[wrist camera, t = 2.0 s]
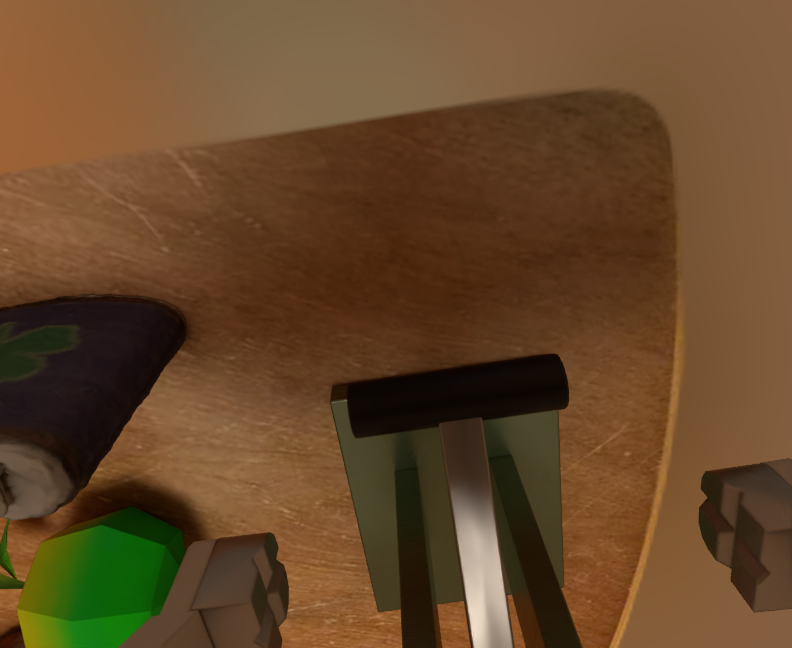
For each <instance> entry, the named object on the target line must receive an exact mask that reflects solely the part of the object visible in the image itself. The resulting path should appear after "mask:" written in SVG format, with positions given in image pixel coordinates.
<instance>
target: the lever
mask: <svg viewBox="0 0 792 648" xmlns="http://www.w3.org/2000/svg"><path fill="white" fill-rule="evenodd" d="M568 402H569V387H568V380H567V375H566V372H565V368H564V365H563V363H562V361H561V359H560V357H559V356H558V355H557V354H548V355H541V356H534V357H527V358H520V359H514V360H507V361H500V362H493V363H486V364H479V365H473V366H466V367H459V368H452V369H445V370H438V371H432V372H425V373H418V374H411V375H404V376H397V377H391V378H384V379H377V380H370V381H363V382H356V383H350V384H348V386H347V408H348V416H349V422H350V427H351V430H352V433H353V436H354V437H355V438H357V439H359V438H366V437H372V436H379V435H386V434H393V433H400V432H407V431H414V430H421V429H428V428H435V427H438V428H439V435H440V441H441V448H442V455H443V462H444V468H445V475H446V482H447V489H448V496H449V502H450V509H451V516H452V523H453V529H454V536H455V543H456V550H457V556H458V563H459V570H460V577H461V584H462V590H463V597H464V604H465V611H466V617H467V624H468V631H469V638H470V644H471V648H515V647H514V640H513V633H512V626H511V619H510V612H509V605H508V598H507V591H506V584H505V577H504V570H503V563H502V556H501V549H500V542H499V535H498V528H497V521H496V514H495V507H494V500H493V493H492V486H491V479H490V472H489V465H488V458H487V451H486V444H485V437H484V430H483V423H482V421H484V420H491V419H498V418H505V417H512V416H519V415H526V414H533V413H540V412H547V411H554V410H561V409H565V408H566V407H567V406H568Z"/></svg>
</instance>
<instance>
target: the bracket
mask: <svg viewBox="0 0 792 648" xmlns="http://www.w3.org/2000/svg"><path fill="white" fill-rule="evenodd" d="M347 386H348V385H342V386H335V387H332V392H331V399H330V404H331V409H332V413H333V418H334V422H335V426H336V431H337V435H338V439H339V444H340V448H341V452H342V457H343V461H344V465H345V470H346V474H347V479H348V483H349V487H350V492H351V496H352V500H353V505H354V509H355V513H356V518H357V522H358V526H359V531H360V535H361V540H362V544H363V548H364V553H365V557H366V561H367V566H368V570H369V574H370V579H371V583H372V587H373V592H374V596H375V601H376V605H377V609H378V612H384V611H392V610H399V609H401V627H402V648H442V642H441V633H440V625H439V616H438V608H437V604H444V603H451V602H459V601H464V597H463V590H462V584H461V577H460V570H459V563H458V556H457V550H456V543H455V536H454V529H453V523H452V516H451V509H450V502H449V496H448V489H447V482H446V475H445V468H444V462H443V455H442V448H441V441H440V435H439V428H438V427H435V428H428V429H421V430H414V431H407V432H400V433H393V434H386V435H379V436H372V437H366V438H359V439H357V438H355V437H354V436H353V433H352V430H351V427H350V422H349V416H348V408H347ZM482 423H483V430H484V437H485V444H486V451H487V458H488V465H489V472H490V479H491V486H492V493H493V500H494V507H495V514H496V521H497V528H498V535H499V542H500V549H501V556H502V563H503V570H504V577H505V584H506V591H507V595H511V594H512V597H513V601H514V605H515V608H516V612H517V616H518V620H519V623H520V627H521V631H522V635H523V638H524V642H525V646H526V648H583V647H582V644H581V642H580V639H579V636H578V634H577V631H576V628H575V625H574V623H573V620H572V617H571V614H570V612H569V609H568V606H567V603H566V601H565V598H564V595H563V593H562V590H561V588H563V587H564V564H563V534H562V504H561V474H560V443H559V413H558V410H554V411H547V412H540V413H533V414H526V415H519V416H512V417H505V418H498V419H491V420H484V421H482Z"/></svg>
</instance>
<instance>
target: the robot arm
mask: <svg viewBox="0 0 792 648" xmlns="http://www.w3.org/2000/svg"><path fill="white" fill-rule="evenodd" d="M701 490H702V491H703V492H704V494H705V495H706V496H707V497H708V498H707V499H706V500H705V501H704V503H703V504H702V505H701V506H700V507H699V526H700V530H701V534H702V538H703V540H704V542H705V544H706V546H707V548H708V550H709V551H710V552H711V554H712V555H713V557H714V558H715V560H717V561H718V562H720V563H722V564H724V565H726V566H727V567H729V568H731V569H732V571H731V582H732V583H733V585H734V586H735V587H736V589H737V590H738V591H739V593H740V594H741V595H742V597H743V598H744V600H745V601H746V602H747V604H748V605H749V606H750V608H751V609H752V610H753V612H754V613H755V612H765V611H774V610H783V609H792V459H789V458H788V459H782V460H775V461H768V462H763V463H760V464H752V465H745V466H738V467H731V468H725V469H718V470H711V471H706V472H705V473H704V475H703V477H702V482H701ZM277 552H278V545H277V542H276V539H275V536H274V534H272V533H270V532H268V533H259V534H250V535H242V536H233V537H224V538H219V539H212V540H203V541H194V542H193V543H192V544H191V545H190V546H189V547H188V549H187V551H186V554H185V556H184V558H183V561H182V563H181V566H180V568H179V570H178V573H177V575H176V577H175V580H174V582H173V585H172V587H171V589H170V592H169V594H168V596H167V599H166V601H165V604H164V606H163V608H162V611H161V613H160V615H158V616H152V617H150V618H149V619H148V620H147V621H146V622H145V623H144V624H143V625H142V626H141V627H140V628H139V629H137V630H136V631H135V632H134V633H133V634H132V635H131V636H130V637H129V638H128V639H127V640H125V641H124V642H123V643H122V644H121V645H120V646H119V647H118V648H281V646H282V637H281V634H280V631H279V628H278V627H279V626H280V625H281V624H282V623H283V621H284V620H285V619H286V617H287V610H288V604H289V586H288V580H287V574H286V571H285V567H284V565H283V564H282V563H280V562H279V561H278V560H276V557H277Z"/></svg>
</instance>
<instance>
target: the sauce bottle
mask: <svg viewBox="0 0 792 648" xmlns="http://www.w3.org/2000/svg"><path fill="white" fill-rule="evenodd" d="M0 648H26V647H25V643H24V639H23V634H22V631H19V632H15V633H13V634H9V635H7V636H5V637H3V638H1V639H0Z"/></svg>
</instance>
